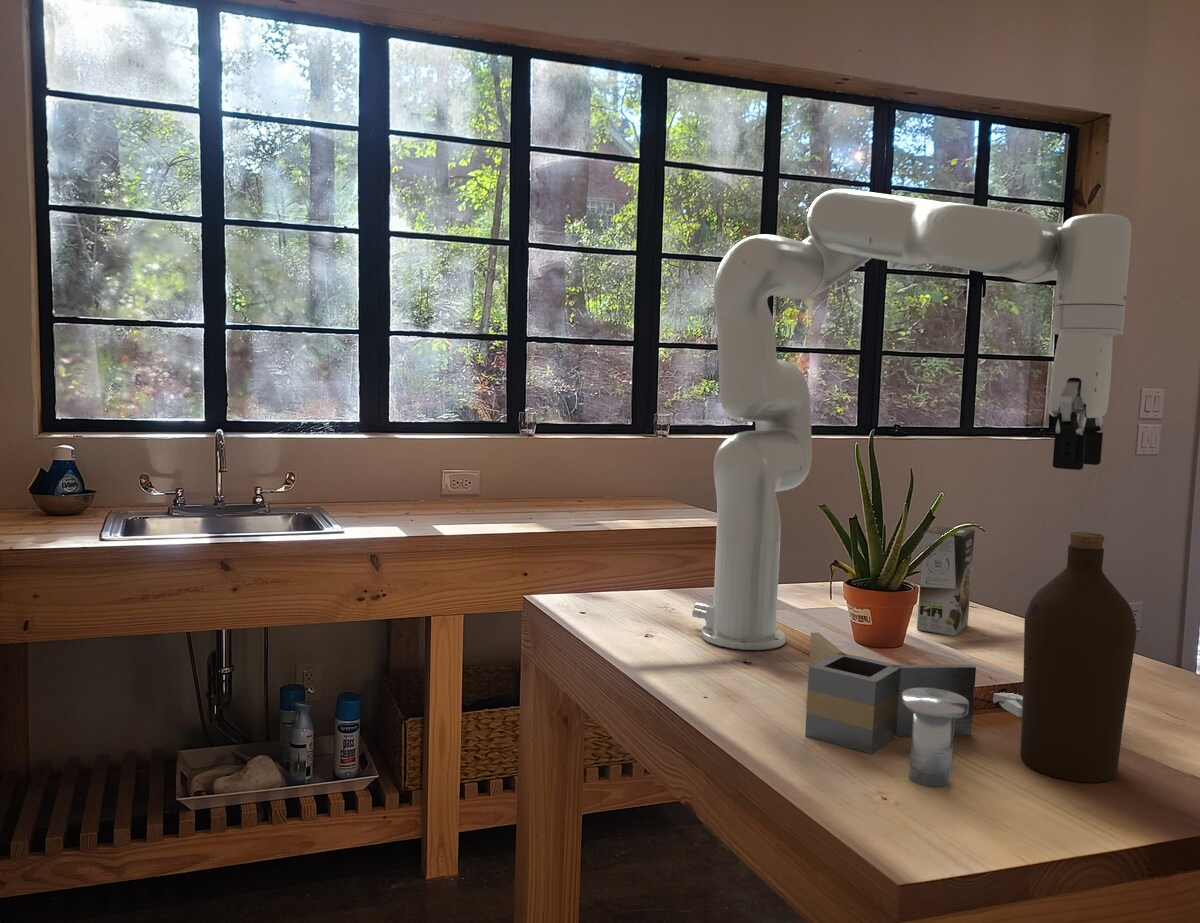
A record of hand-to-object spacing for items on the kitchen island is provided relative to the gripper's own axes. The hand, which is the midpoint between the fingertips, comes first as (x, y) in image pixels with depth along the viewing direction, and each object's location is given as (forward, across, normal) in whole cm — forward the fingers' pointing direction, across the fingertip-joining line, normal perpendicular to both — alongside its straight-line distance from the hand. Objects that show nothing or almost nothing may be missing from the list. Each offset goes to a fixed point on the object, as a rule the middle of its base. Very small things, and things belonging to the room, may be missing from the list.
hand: (1077, 466), depth 119 cm
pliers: (+31, -2, -8) cm, 32 cm away
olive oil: (+31, +16, +5) cm, 35 cm away
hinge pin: (+31, +30, -5) cm, 43 cm away
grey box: (+31, +21, -16) cm, 41 cm away
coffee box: (+31, -32, -24) cm, 51 cm away
